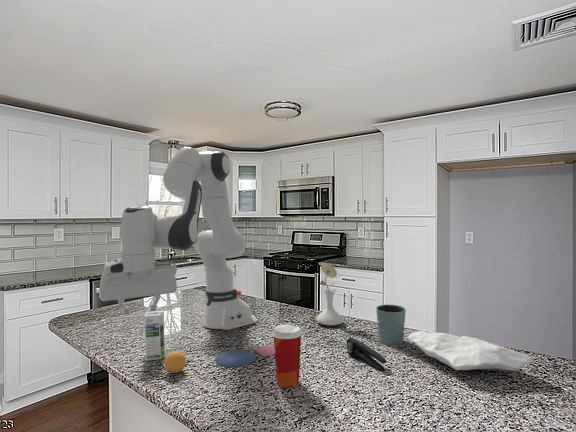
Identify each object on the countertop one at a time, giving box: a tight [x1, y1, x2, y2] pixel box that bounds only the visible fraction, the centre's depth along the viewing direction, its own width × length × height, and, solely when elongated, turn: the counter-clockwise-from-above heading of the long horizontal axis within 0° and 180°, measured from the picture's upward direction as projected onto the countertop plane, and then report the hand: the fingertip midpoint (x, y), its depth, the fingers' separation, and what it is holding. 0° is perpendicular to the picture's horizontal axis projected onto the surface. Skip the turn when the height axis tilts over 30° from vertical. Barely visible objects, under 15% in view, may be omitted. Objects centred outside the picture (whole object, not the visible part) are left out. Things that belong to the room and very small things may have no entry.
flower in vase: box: [315, 262, 345, 326], centre depth 155 cm, size 13×11×25 cm
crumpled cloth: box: [406, 330, 533, 372], centre depth 112 cm, size 24×35×9 cm
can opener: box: [346, 337, 387, 372], centre depth 117 cm, size 18×7×6 cm, turn 24°
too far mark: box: [253, 344, 275, 358], centre depth 126 cm, size 8×8×1 cm
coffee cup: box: [271, 324, 303, 389], centre depth 102 cm, size 8×8×15 cm
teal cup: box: [375, 304, 406, 347], centre depth 133 cm, size 10×10×12 cm
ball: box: [164, 350, 187, 374], centre depth 110 cm, size 6×6×6 cm
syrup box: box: [144, 310, 166, 362], centre depth 122 cm, size 6×6×14 cm
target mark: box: [214, 349, 257, 368], centre depth 120 cm, size 13×13×1 cm
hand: (139, 312), depth 105 cm, fingers open, 6 cm apart
